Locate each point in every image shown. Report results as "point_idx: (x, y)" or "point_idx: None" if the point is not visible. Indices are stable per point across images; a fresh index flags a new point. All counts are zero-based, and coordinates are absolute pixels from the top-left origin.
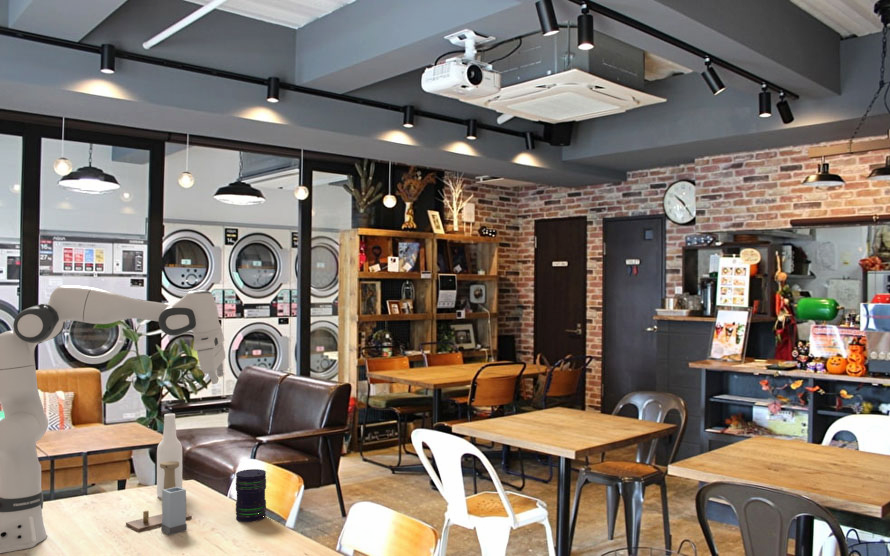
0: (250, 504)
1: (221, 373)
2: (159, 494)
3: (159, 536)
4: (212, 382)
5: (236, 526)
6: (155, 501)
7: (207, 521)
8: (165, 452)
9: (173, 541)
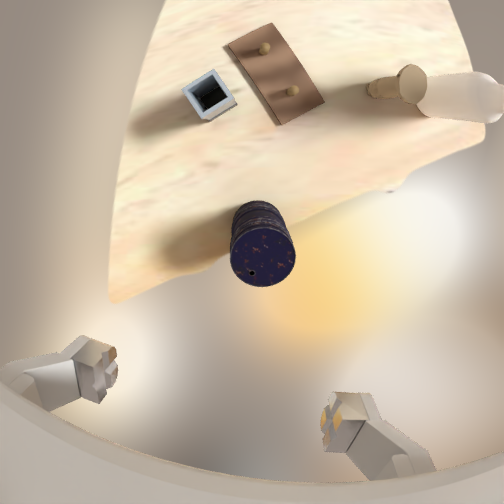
0: (232, 234)
1: (329, 428)
2: None
3: None
4: (78, 344)
5: (214, 202)
6: None
7: (257, 152)
8: (464, 84)
9: (161, 108)
